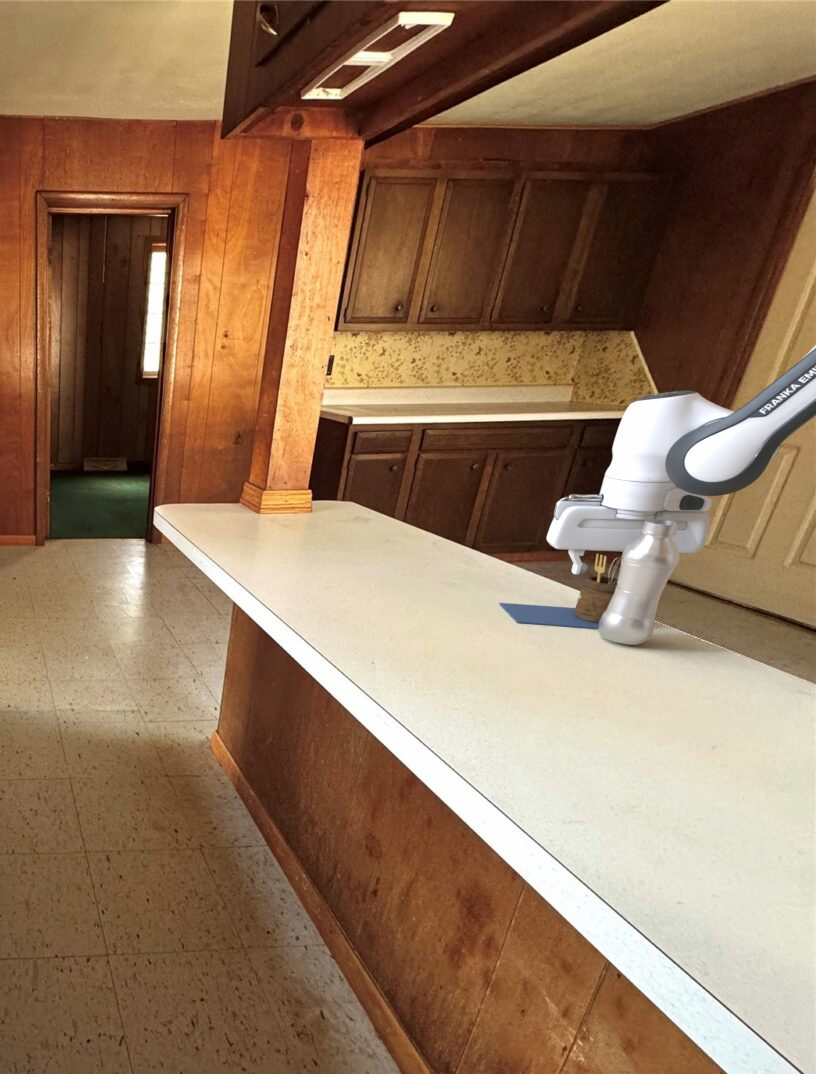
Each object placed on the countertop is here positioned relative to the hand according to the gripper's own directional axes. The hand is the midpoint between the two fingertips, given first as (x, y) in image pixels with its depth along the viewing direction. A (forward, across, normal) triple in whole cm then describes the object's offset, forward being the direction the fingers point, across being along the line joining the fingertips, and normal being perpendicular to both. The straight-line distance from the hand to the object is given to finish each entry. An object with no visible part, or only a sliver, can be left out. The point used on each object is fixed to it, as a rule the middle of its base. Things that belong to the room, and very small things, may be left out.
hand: (611, 575), depth 112 cm
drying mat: (+8, -6, 0) cm, 10 cm away
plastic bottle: (+8, 0, -9) cm, 12 cm away
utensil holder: (+8, -1, 0) cm, 8 cm away
